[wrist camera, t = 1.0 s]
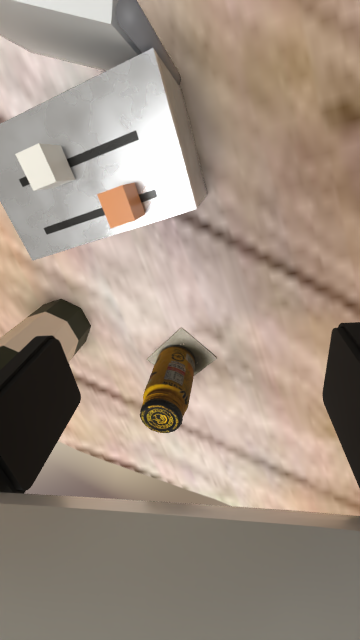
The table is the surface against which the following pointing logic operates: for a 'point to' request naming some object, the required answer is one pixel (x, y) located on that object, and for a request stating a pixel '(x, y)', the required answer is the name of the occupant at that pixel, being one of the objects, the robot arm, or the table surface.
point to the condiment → (172, 381)
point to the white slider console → (103, 156)
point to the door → (82, 31)
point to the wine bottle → (48, 330)
